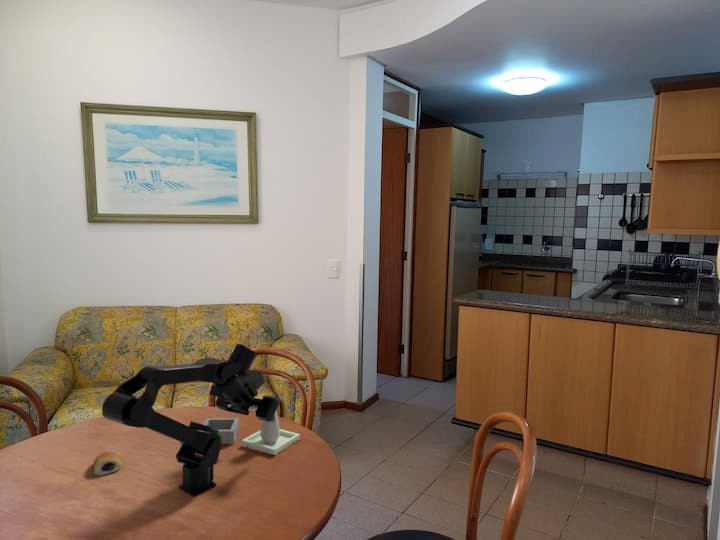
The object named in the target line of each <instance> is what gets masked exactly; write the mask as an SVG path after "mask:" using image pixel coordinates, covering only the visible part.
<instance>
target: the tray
mask: <svg viewBox="0 0 720 540" xmlns="http://www.w3.org/2000/svg"><path fill="white" fill-rule="evenodd" d="M260 432H261V429H259V430H258V431H256V432H254V433H253V434H251V435H249V436H247V437H245V438H243V439H241V446H242V445H243V446H246V447H249V448H253V449H257V450H260V451H264V452H267V453H271V454H274V455H275V454H277V453H278V452H280V451H281V450H283V449H284V448H286V447H288V446H289V445H291V444H292V443H294V442H295V441H297V440H299V439H300V440H301V434H300V433H297V432H292V431H289V430H285V429H283V428H282V429H281V428H280V436H279V438H278V440H277V441H276V443H273V444H265V443H264V442H263V440H262V438H261V436H260ZM249 448H248V449H249Z"/></svg>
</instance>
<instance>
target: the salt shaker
mask: <svg viewBox="0 0 720 540" xmlns="http://www.w3.org/2000/svg"><path fill="white" fill-rule="evenodd" d="M274 417H275V420H274V422H268V421H263V420H261V428H260V430H261V432H260V436H261V438H262V440H263V442H264V443H265V444H273V443H276V441H277V440H278V438H279V436H280V429H281V428H280V423H279V417H278V412H277V410H276V412H275V414H274Z"/></svg>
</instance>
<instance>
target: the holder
mask: <svg viewBox="0 0 720 540" xmlns="http://www.w3.org/2000/svg"><path fill="white" fill-rule="evenodd" d="M202 424H203V425H206V426H209V427H210V428H212V429H215V430H218V431H219V432H218V433H217V434H219V435H220V436H221V444H230V445H234V444H235V443H236V440H237V437H238V435H237V433H238V434H239V432H240V417H217V418H216V417H215V418H214V417H211V418H210V417H208V418H205V420H204V422H203V423H202ZM238 431H239V432H238ZM236 436H237V437H236ZM235 439H236V440H235ZM234 442H235V443H234ZM233 443H234V444H233Z"/></svg>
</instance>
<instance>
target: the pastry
mask: <svg viewBox="0 0 720 540" xmlns="http://www.w3.org/2000/svg"><path fill="white" fill-rule="evenodd" d="M123 465H124V462H123V460H122V457H121V456H120V455H119V454H117V453H116V452H112V451H111V452H106V451H105V452H103V453H100V454H99V455H97V456H96V457H95V460H93V464H92V467H93V470H94V471H93V473H94V475H95V476H98V477H99V476H104V475H108V474H112V473H115V472H117V471H120V470H121V468H122V467H123Z"/></svg>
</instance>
